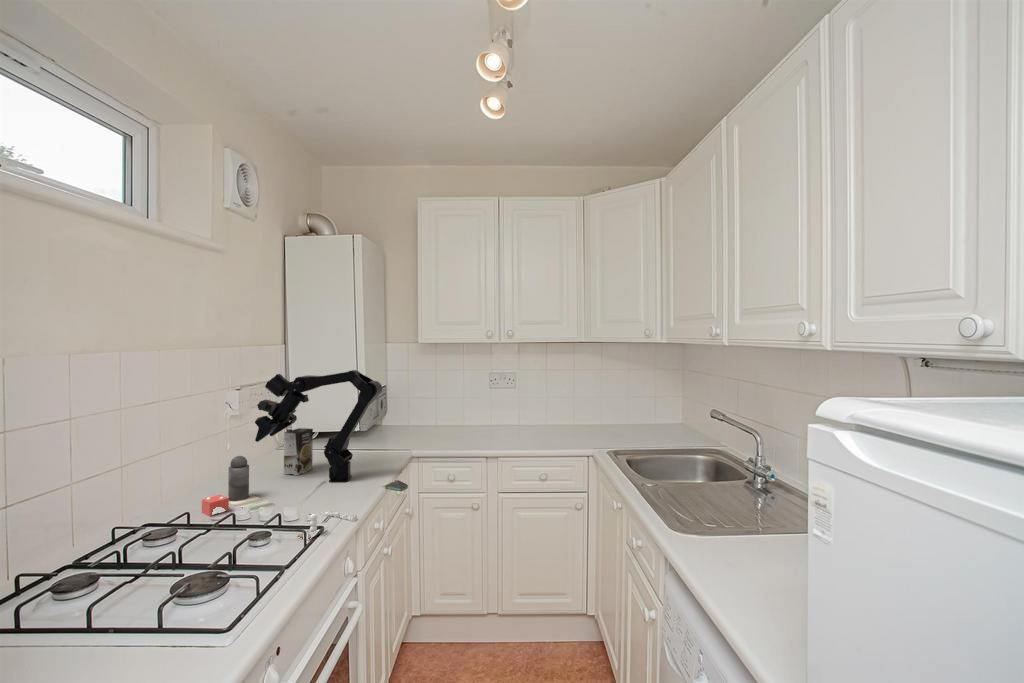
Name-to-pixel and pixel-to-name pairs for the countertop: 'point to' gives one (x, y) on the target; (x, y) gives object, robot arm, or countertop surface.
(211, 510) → the red arch block
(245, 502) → the game track
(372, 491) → the countertop surface
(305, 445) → the coffee box
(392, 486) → the game pieces
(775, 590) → the countertop surface
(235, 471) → the pawn
